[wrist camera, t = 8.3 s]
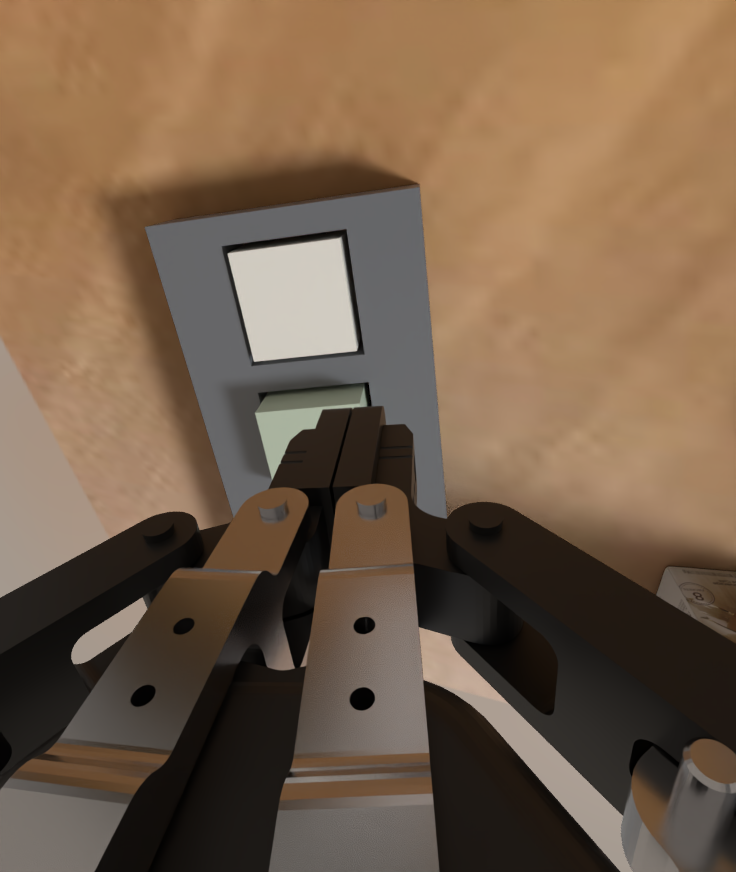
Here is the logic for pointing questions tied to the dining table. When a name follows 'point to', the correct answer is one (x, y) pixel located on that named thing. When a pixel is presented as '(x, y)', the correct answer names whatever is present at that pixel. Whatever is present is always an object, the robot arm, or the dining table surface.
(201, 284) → the button panel
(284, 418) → the sage button
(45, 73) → the dining table surface
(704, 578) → the coffee box
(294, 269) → the offwhite button
